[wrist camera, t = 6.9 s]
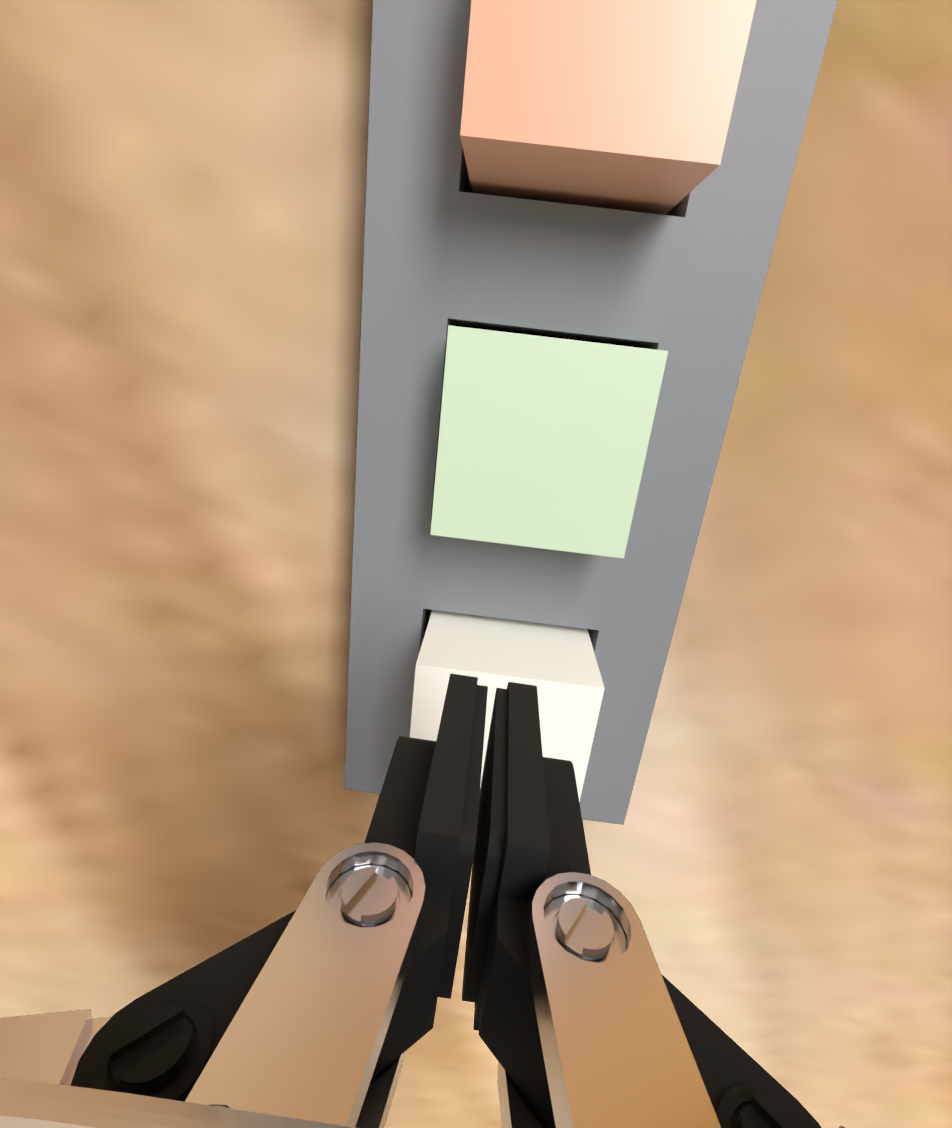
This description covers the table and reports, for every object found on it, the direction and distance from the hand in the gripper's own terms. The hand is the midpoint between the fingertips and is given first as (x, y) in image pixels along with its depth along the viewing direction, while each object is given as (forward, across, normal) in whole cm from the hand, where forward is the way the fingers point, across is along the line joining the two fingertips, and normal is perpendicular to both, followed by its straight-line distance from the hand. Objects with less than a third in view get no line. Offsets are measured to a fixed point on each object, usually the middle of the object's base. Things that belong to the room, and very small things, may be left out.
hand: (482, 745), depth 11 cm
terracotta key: (+11, 0, -15) cm, 19 cm away
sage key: (+12, -1, -5) cm, 13 cm away
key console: (+13, -1, -5) cm, 14 cm away
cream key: (+12, -1, +5) cm, 13 cm away
